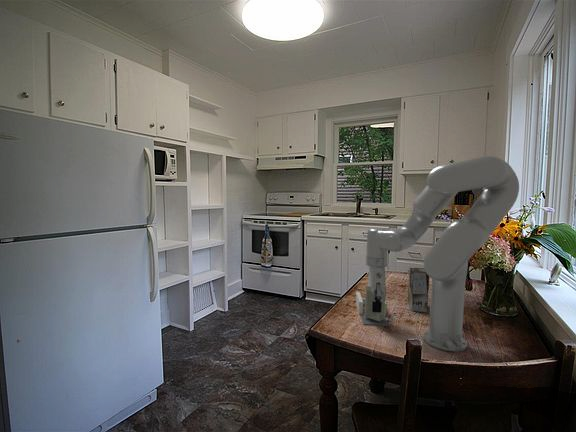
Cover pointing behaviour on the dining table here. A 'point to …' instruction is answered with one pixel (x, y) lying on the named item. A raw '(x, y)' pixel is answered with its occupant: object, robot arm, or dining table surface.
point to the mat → (374, 321)
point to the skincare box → (368, 305)
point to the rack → (361, 301)
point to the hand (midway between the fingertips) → (375, 307)
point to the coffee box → (418, 289)
